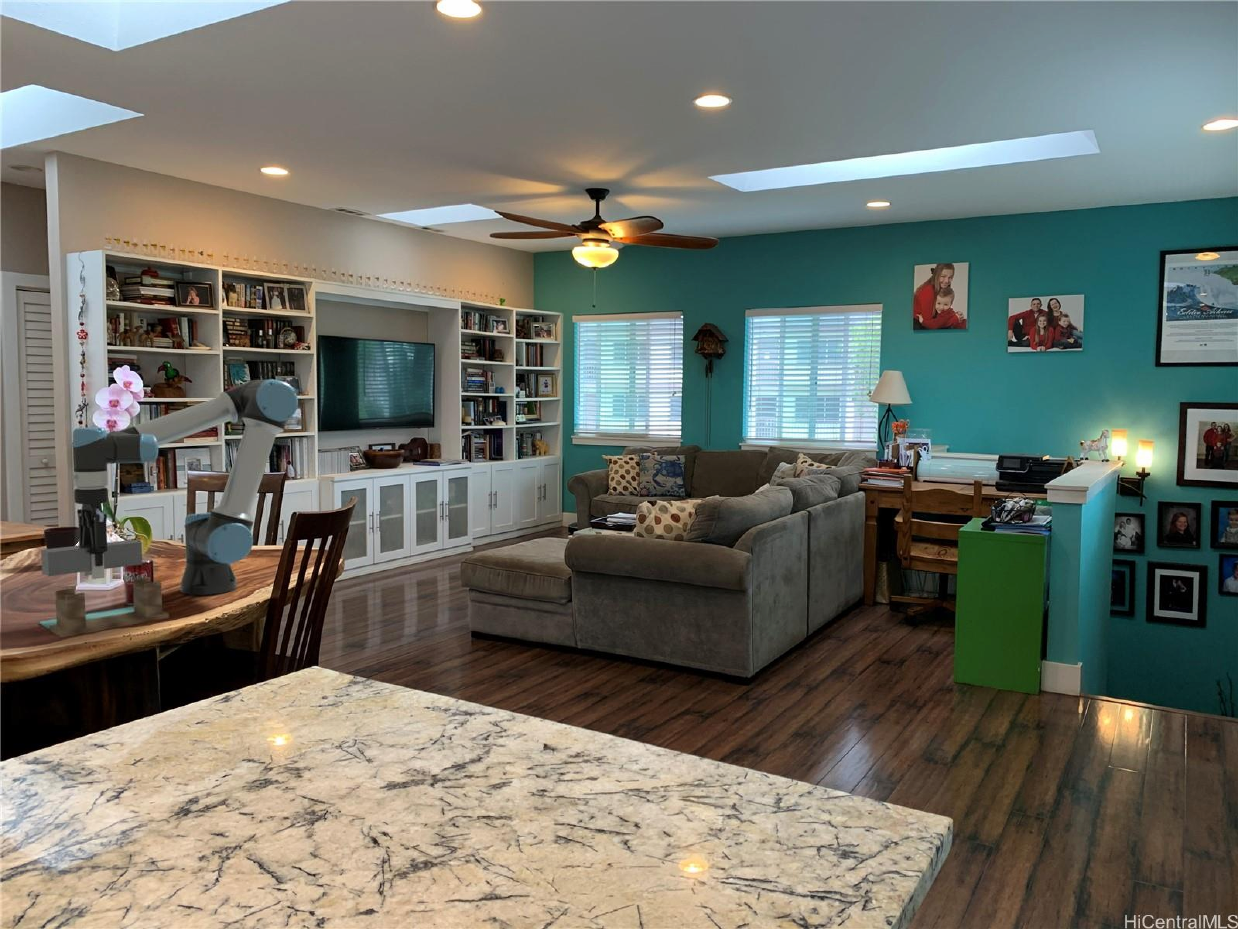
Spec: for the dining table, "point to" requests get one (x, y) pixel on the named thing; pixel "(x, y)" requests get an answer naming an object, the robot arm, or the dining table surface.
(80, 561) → the rail
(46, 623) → the mat
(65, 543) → the cup
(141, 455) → the robot arm
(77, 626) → the stand
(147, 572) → the soda can
